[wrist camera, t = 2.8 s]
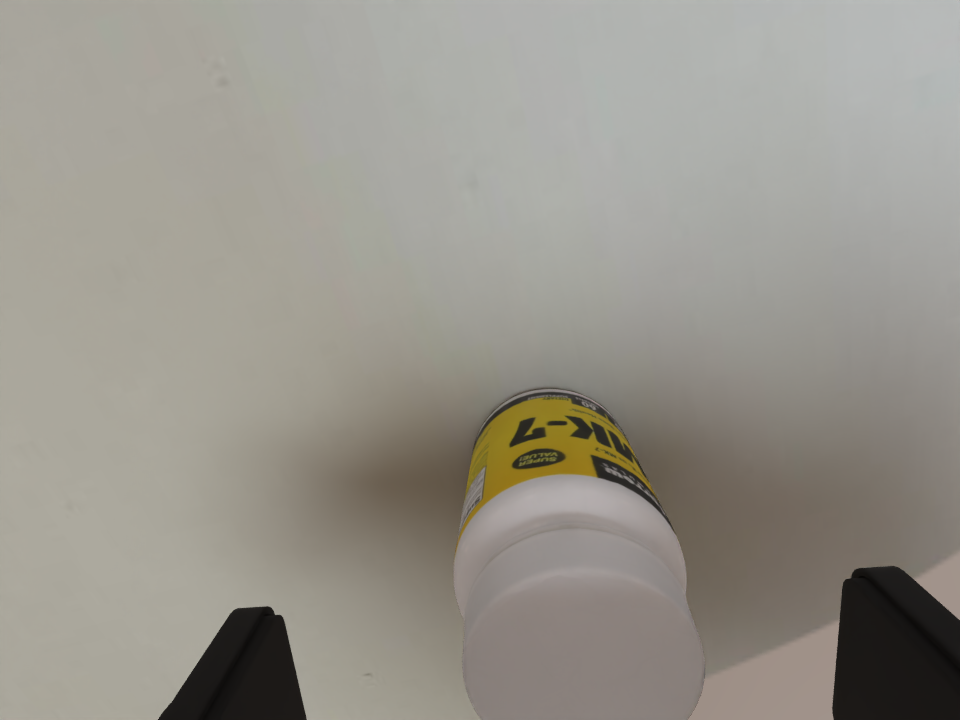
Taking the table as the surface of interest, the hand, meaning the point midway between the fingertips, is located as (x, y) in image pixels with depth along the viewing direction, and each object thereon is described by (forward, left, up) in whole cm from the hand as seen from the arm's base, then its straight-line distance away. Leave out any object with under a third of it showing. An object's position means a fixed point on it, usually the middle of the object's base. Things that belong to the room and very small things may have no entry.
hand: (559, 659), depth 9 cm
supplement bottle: (0, 0, -8) cm, 8 cm away
